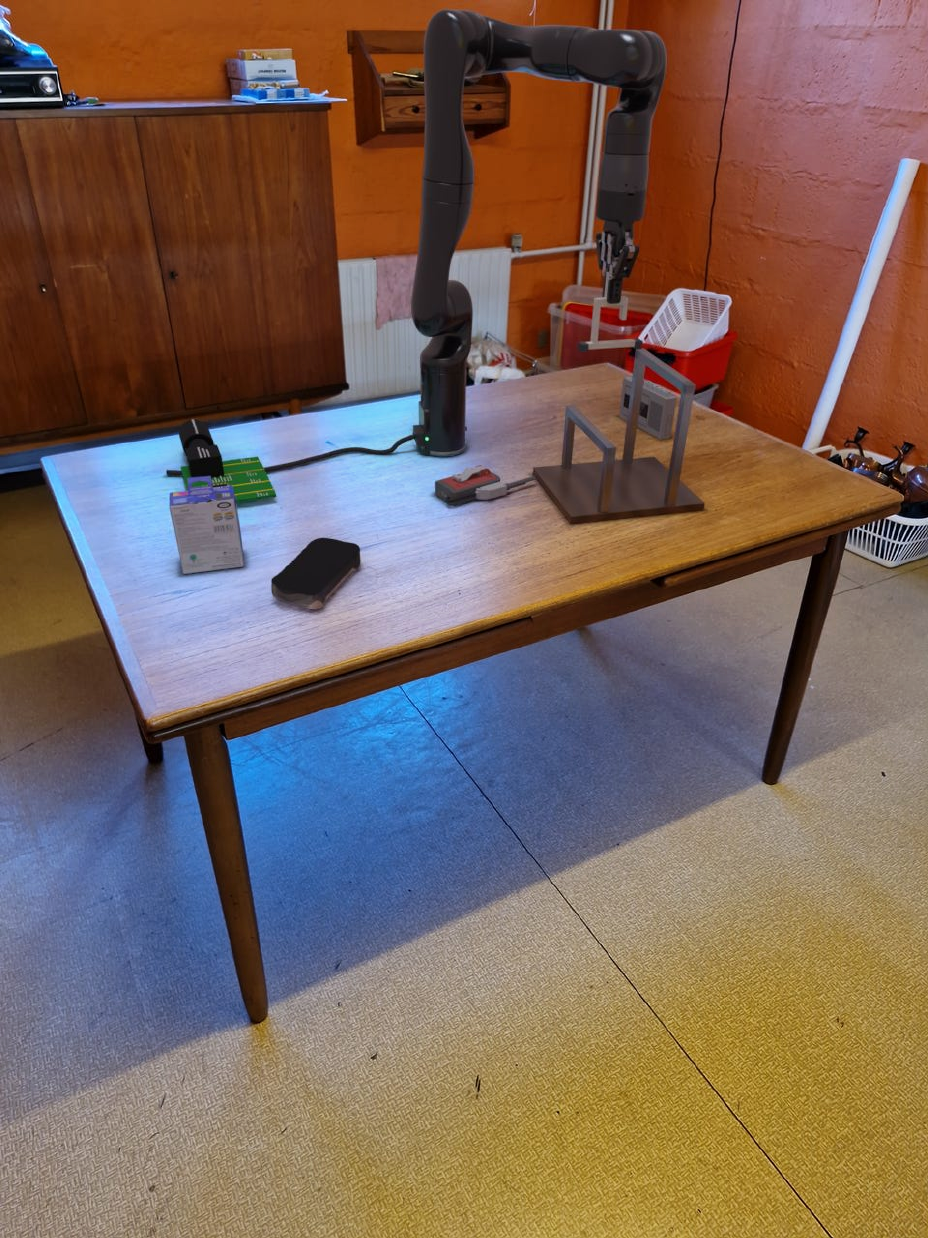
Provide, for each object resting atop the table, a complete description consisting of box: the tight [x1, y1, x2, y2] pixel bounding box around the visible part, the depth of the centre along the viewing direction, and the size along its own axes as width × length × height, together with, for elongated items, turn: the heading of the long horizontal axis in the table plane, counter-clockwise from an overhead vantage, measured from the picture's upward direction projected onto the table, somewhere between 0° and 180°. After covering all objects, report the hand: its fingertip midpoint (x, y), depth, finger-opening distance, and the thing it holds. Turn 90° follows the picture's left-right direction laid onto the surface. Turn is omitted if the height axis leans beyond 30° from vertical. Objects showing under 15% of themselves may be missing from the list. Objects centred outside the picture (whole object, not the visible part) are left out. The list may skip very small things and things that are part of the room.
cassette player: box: [618, 375, 678, 441], centre depth 188 cm, size 16×3×10 cm, turn 27°
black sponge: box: [270, 537, 362, 610], centre depth 132 cm, size 16×8×4 cm, turn 160°
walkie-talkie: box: [434, 464, 537, 506], centre depth 161 cm, size 9×4×20 cm
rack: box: [532, 348, 706, 525], centre depth 156 cm, size 26×22×24 cm
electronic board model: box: [178, 418, 277, 504], centre depth 164 cm, size 30×7×15 cm
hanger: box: [577, 272, 643, 354], centre depth 143 cm, size 11×2×13 cm, turn 103°
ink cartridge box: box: [168, 476, 245, 575], centre depth 134 cm, size 10×6×14 cm, turn 107°
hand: (611, 301), depth 142 cm, fingers closed on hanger, 1 cm apart
